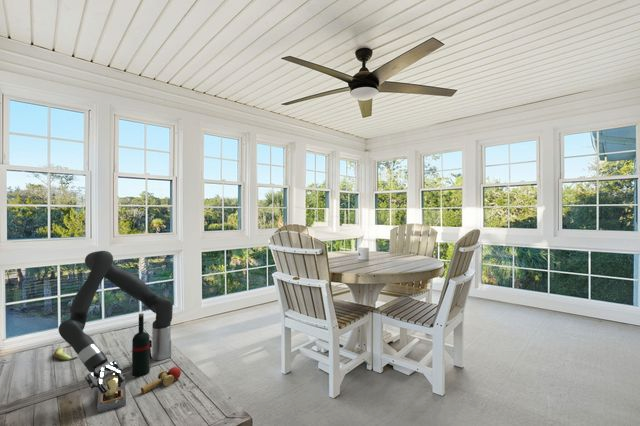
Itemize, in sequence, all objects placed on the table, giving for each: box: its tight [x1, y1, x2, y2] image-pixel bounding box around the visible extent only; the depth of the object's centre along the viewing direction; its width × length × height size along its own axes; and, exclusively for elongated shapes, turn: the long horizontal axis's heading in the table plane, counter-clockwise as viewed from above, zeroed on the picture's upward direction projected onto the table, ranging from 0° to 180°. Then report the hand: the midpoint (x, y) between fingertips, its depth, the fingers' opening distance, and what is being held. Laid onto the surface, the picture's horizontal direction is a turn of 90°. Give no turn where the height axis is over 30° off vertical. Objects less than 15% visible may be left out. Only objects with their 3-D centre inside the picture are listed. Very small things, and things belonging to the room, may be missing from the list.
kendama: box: [140, 366, 182, 395], centre depth 150 cm, size 8×6×18 cm
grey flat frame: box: [96, 376, 127, 414], centre depth 141 cm, size 10×22×3 cm, turn 33°
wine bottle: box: [131, 313, 153, 378], centre depth 162 cm, size 8×10×30 cm
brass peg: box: [104, 375, 119, 401], centre depth 137 cm, size 4×4×10 cm
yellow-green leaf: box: [46, 344, 78, 371], centre depth 179 cm, size 35×27×4 cm
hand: (114, 386), depth 136 cm, fingers open, 8 cm apart
